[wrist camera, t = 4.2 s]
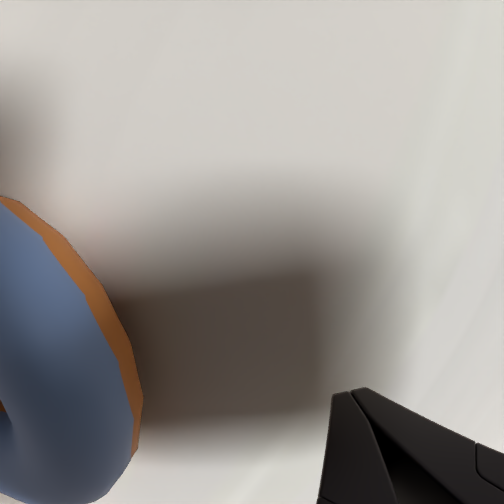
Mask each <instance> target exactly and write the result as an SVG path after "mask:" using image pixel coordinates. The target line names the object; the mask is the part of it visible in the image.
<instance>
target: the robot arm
mask: <svg viewBox="0 0 504 504" xmlns="http://www.w3.org/2000/svg"><path fill="white" fill-rule="evenodd" d="M316 504H504V453H501V452H499V451H496V450H494V449H491V448H489V447H487V446H484V445H482V444H480V443H476V444H475V441H473V440H471V439H469V438H467V437H464V436H462V435H460V434H458V433H456V432H454V431H452V430H450V429H447V428H445V427H443V426H441V425H439V424H437V423H435V422H433V421H431V420H429V419H427V418H425V417H423V416H421V415H419V414H417V413H415V412H413V411H411V410H409V409H407V408H405V407H403V406H401V405H399V404H397V403H395V402H394V401H392V400H390V399H388V398H386V397H384V396H382V395H380V394H378V393H376V392H375V391H373V390H371V389H369V388H367V387H363V388H359V389H354V390H351V391H350V392H347V391H346V392H341V393H337V394H333V396H332V400H331V410H330V418H329V426H328V434H327V442H326V449H325V456H324V462H323V469H322V475H321V481H320V487H319V493H318V499H317V502H316Z"/></svg>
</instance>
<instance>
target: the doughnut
mask: <svg viewBox="0 0 504 504" xmlns="http://www.w3.org/2000/svg"><path fill="white" fill-rule="evenodd" d="M143 397H144V396H143V393H142V389H141V385H140V381H139V377H138V372H137V368H136V364H135V359H134V355H133V350H132V345H131V343H130V340H129V338H128V336H127V334H126V332H125V330H124V328H123V326H122V324H121V322H120V321H119V319H118V317H117V315H116V313H115V310H114V308H113V306H112V304H111V302H110V300H109V298H108V296H107V294H106V292H105V290H104V287H103V285H102V284H101V283H100V282H99V280H98V279H97V278H96V277H95V275H94V274H93V273H92V272H91V270H90V269H89V268H88V267H87V265H86V264H85V263H84V262H83V260H82V259H81V258H80V256H79V255H78V254H77V253H76V251H75V250H74V249H73V247H72V246H71V245H70V243H69V242H68V241H67V239H66V238H65V237H64V236H63V235H62V234H60V233H59V232H58V231H56V230H55V229H54V228H52V227H51V226H50V225H48V224H47V223H46V222H45V221H43V220H42V219H41V218H39V217H38V216H37V215H36V214H34V213H33V212H32V211H31V210H29V209H28V208H27V207H26V206H24V205H23V204H22V203H21V202H19V201H16V200H12V199H9V198H5V197H2V196H0V492H1V493H3V494H5V495H7V496H9V497H12V498H14V499H16V500H19V501H21V502H24V503H27V504H88V503H91V502H94V501H96V500H98V499H100V498H101V497H103V496H104V495H106V494H107V493H108V492H109V490H110V489H111V488H112V486H113V485H114V484H115V482H116V481H117V480H118V479H119V477H120V476H121V475H122V473H123V472H124V470H125V469H126V467H127V465H128V464H129V462H130V461H131V458H132V456H133V455H134V453H135V452H136V450H137V448H138V441H139V431H140V422H141V414H142V405H143Z"/></svg>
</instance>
